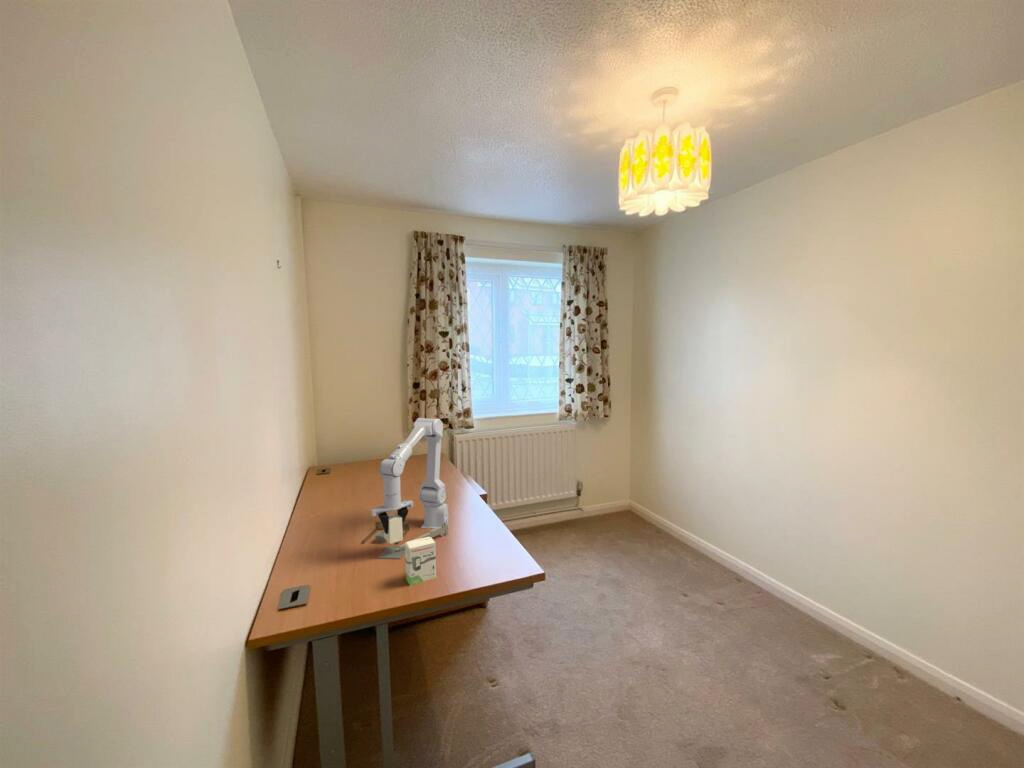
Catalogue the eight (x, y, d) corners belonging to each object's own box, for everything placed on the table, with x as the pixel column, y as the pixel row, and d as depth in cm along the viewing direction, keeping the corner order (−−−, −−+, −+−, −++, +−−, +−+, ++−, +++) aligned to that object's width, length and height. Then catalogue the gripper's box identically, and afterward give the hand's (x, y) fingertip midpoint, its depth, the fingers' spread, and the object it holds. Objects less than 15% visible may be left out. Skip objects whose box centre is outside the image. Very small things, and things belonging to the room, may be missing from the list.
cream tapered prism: (396, 534, 146) (395, 512, 146) (402, 540, 141) (402, 517, 141) (384, 537, 144) (383, 515, 143) (390, 543, 139) (389, 521, 138)
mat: (410, 548, 147) (409, 546, 146) (400, 560, 138) (400, 558, 138) (388, 547, 147) (388, 545, 147) (378, 559, 139) (377, 557, 138)
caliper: (446, 535, 156) (447, 520, 154) (447, 536, 155) (449, 522, 154) (395, 550, 143) (396, 534, 142) (396, 552, 142) (398, 536, 141)
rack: (409, 532, 160) (409, 522, 160) (397, 546, 148) (397, 535, 148) (376, 531, 162) (376, 521, 162) (362, 544, 150) (361, 534, 150)
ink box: (409, 586, 122) (408, 548, 121) (405, 578, 126) (404, 542, 125) (436, 578, 126) (435, 541, 125) (432, 571, 130) (431, 535, 129)
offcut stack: (391, 541, 153) (390, 532, 152) (387, 545, 149) (386, 536, 149) (379, 541, 153) (379, 531, 153) (375, 545, 150) (374, 536, 149)
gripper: (407, 486, 149) (408, 522, 150) (367, 494, 140) (369, 532, 141) (415, 490, 143) (416, 528, 144) (374, 499, 134) (375, 539, 135)
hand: (393, 530), depth 142 cm, fingers closed on cream tapered prism, 4 cm apart
